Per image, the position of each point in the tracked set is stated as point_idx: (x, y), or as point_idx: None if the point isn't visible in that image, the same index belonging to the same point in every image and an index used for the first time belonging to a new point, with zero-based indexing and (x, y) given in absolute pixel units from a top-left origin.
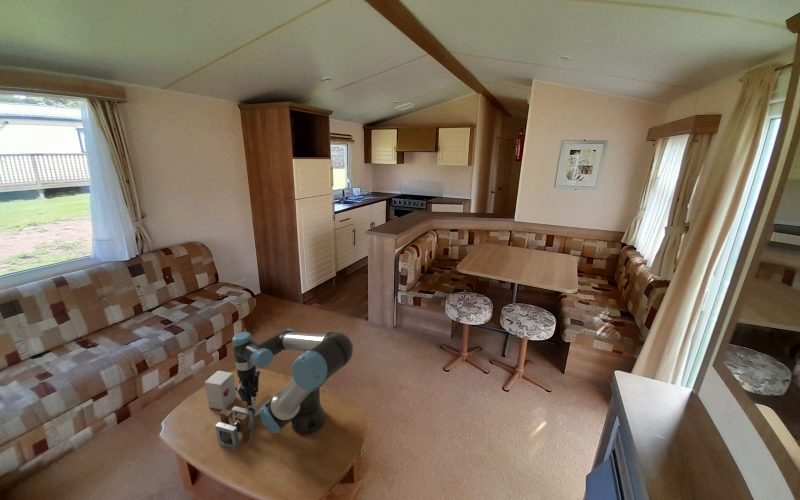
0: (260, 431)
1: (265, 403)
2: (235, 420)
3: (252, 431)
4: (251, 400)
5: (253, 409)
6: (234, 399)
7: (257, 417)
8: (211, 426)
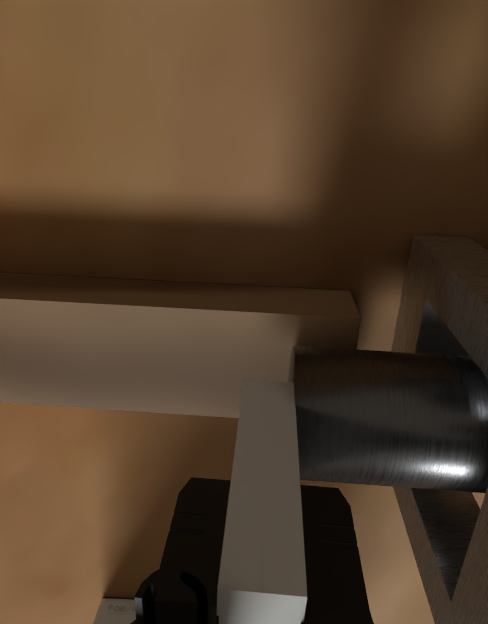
0: (435, 141)
1: (71, 326)
2: (470, 498)
3: (454, 237)
4: (304, 574)
5: (301, 398)
6: (130, 605)
7: (274, 298)
8: (426, 600)
